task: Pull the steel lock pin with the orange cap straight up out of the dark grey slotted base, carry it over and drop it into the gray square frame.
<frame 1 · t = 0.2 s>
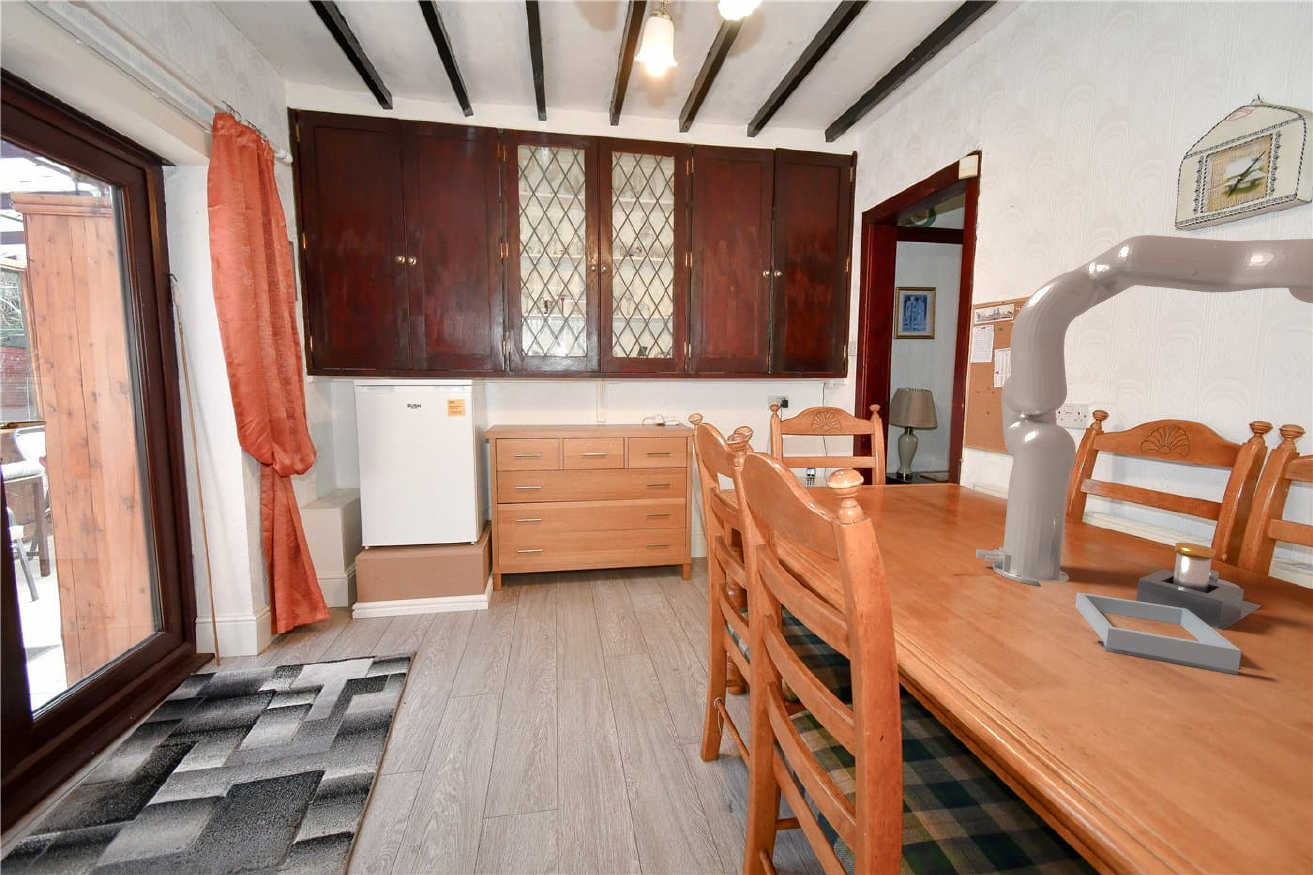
gray square frame: (1146, 639, 78), on the table
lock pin: (1186, 609, 86), point 1 cm above the table, touching dark grey slotted base
dark grey slotted base: (1186, 614, 86), on the table
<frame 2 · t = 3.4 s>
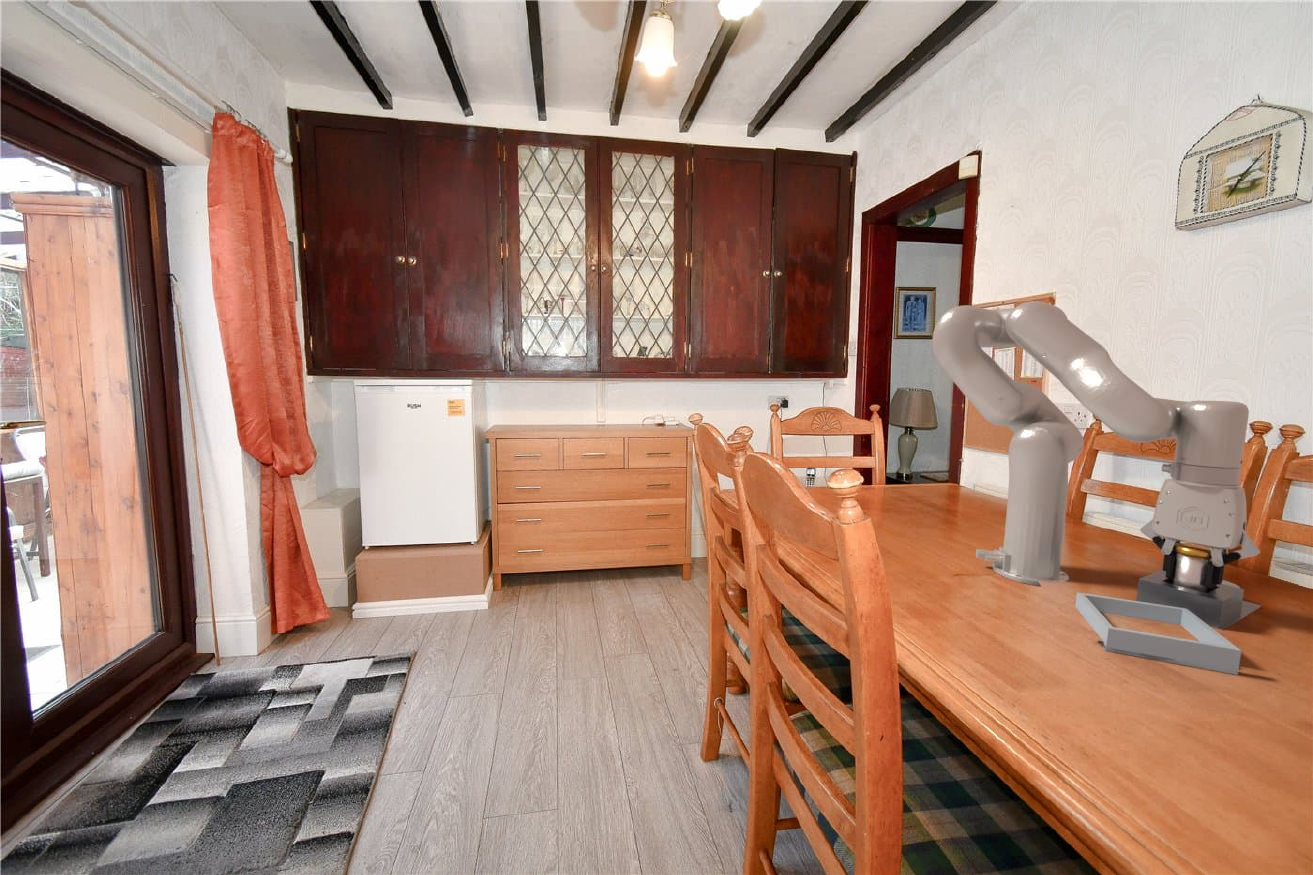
hand: (1190, 580, 85), 6 cm above the table, tool pointing down, fingers closed on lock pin, 4 cm apart
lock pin: (1186, 609, 86), point 1 cm above the table, touching gripper, dark grey slotted base
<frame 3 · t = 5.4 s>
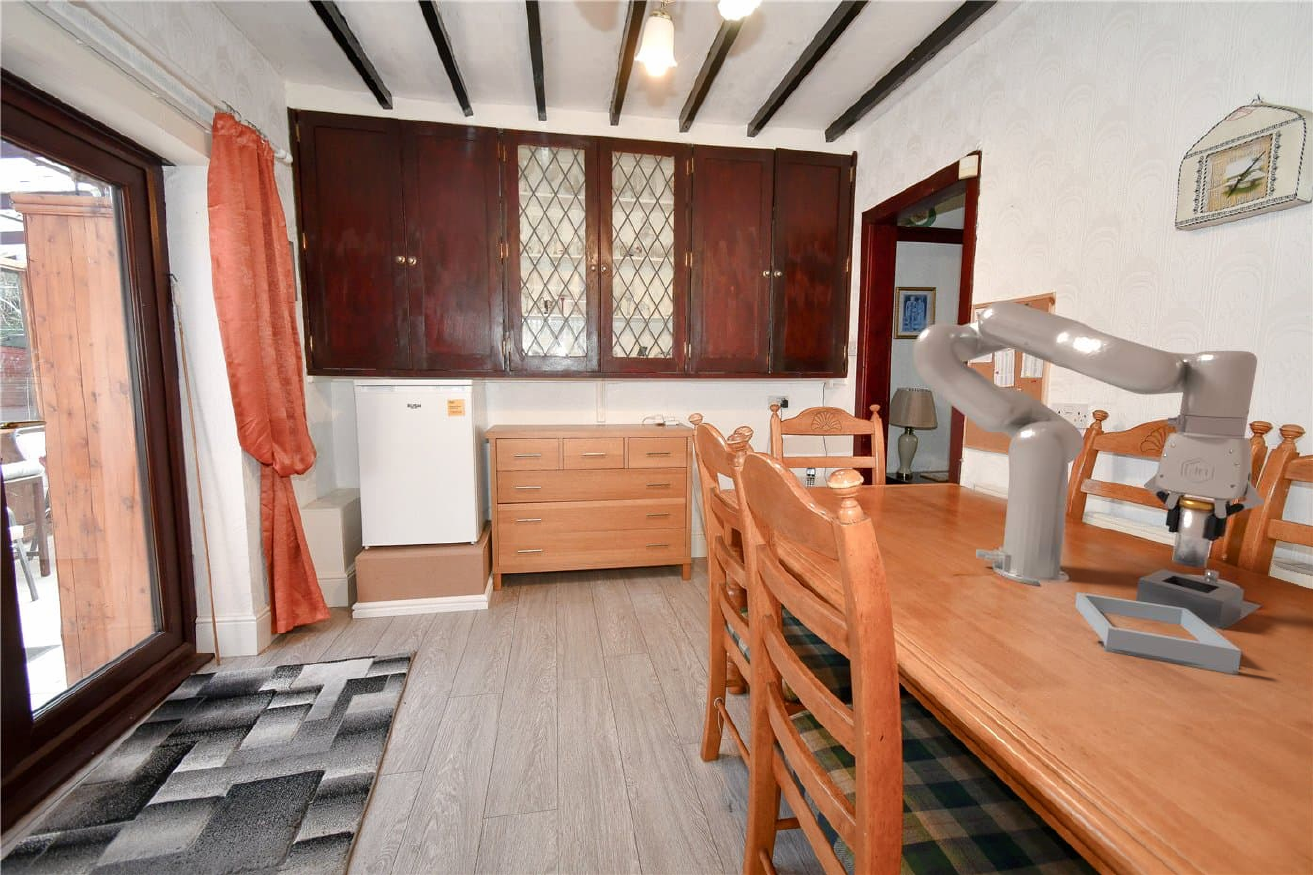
hand: (1193, 534, 85), 14 cm above the table, tool pointing down, fingers closed on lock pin, 4 cm apart
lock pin: (1188, 563, 85), point 9 cm above the table, touching gripper
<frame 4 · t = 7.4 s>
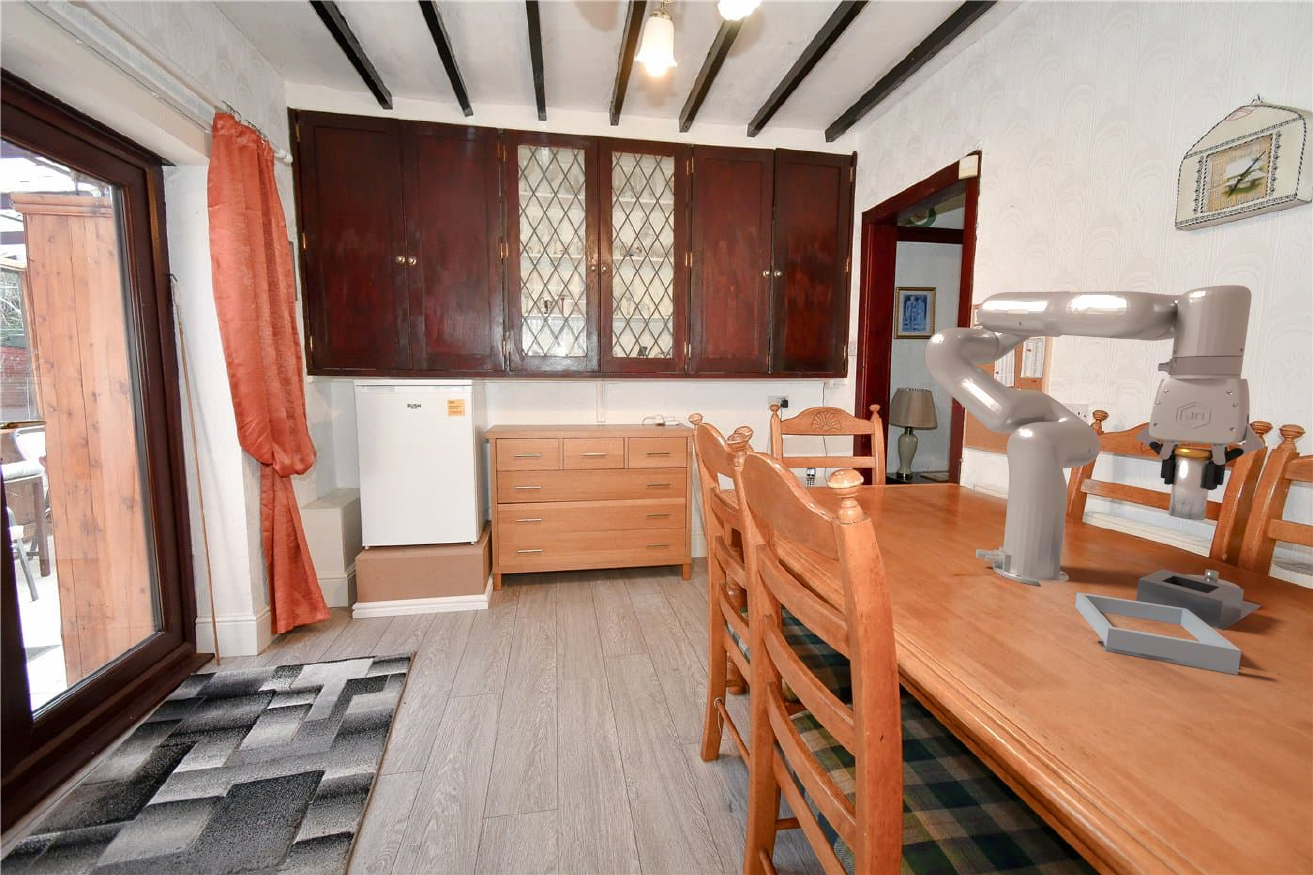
hand: (1190, 485, 80), 23 cm above the table, tool pointing down, fingers closed on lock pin, 4 cm apart
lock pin: (1186, 516, 80), point 18 cm above the table, touching gripper
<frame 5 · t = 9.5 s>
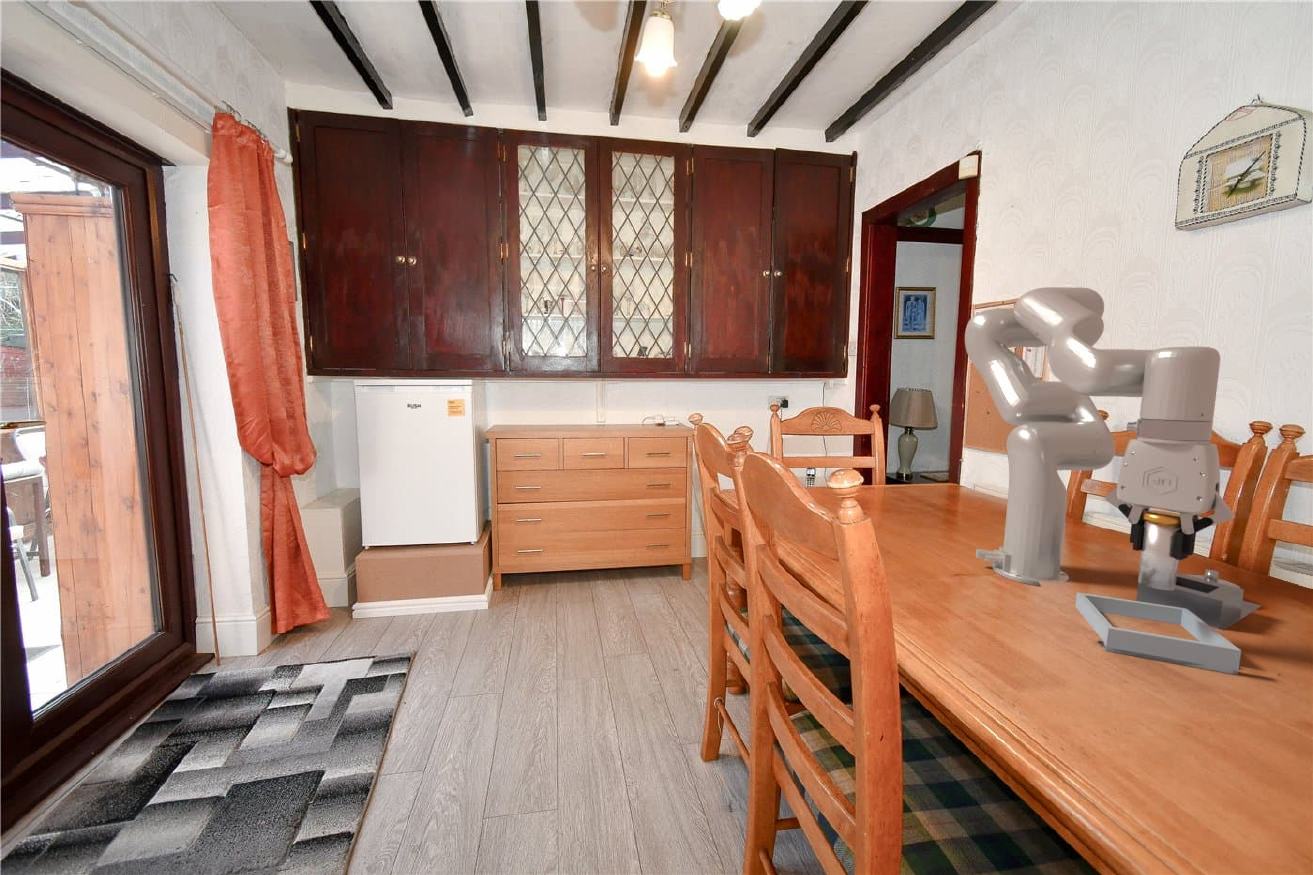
hand: (1159, 552, 76), 14 cm above the table, tool pointing down, fingers closed on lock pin, 4 cm apart
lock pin: (1156, 585, 76), point 9 cm above the table, touching gripper
when the fingers open (7 cm above the table, at t = 11.3 s): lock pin drops 2 cm, resting on gray square frame.
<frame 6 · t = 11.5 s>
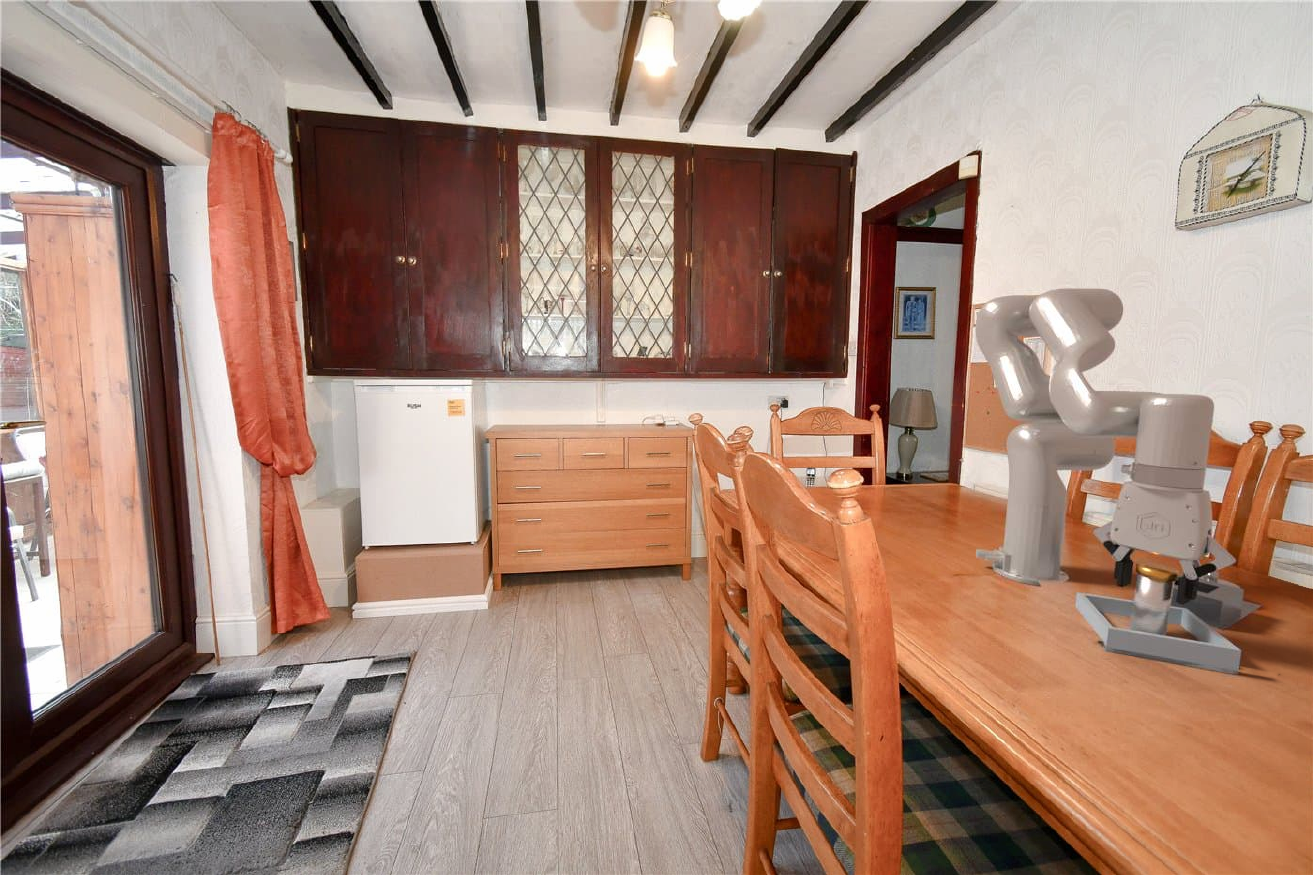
hand: (1152, 592, 77), 8 cm above the table, tool pointing down, fingers open, 6 cm apart
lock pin: (1146, 635, 78), point 1 cm above the table, touching gray square frame
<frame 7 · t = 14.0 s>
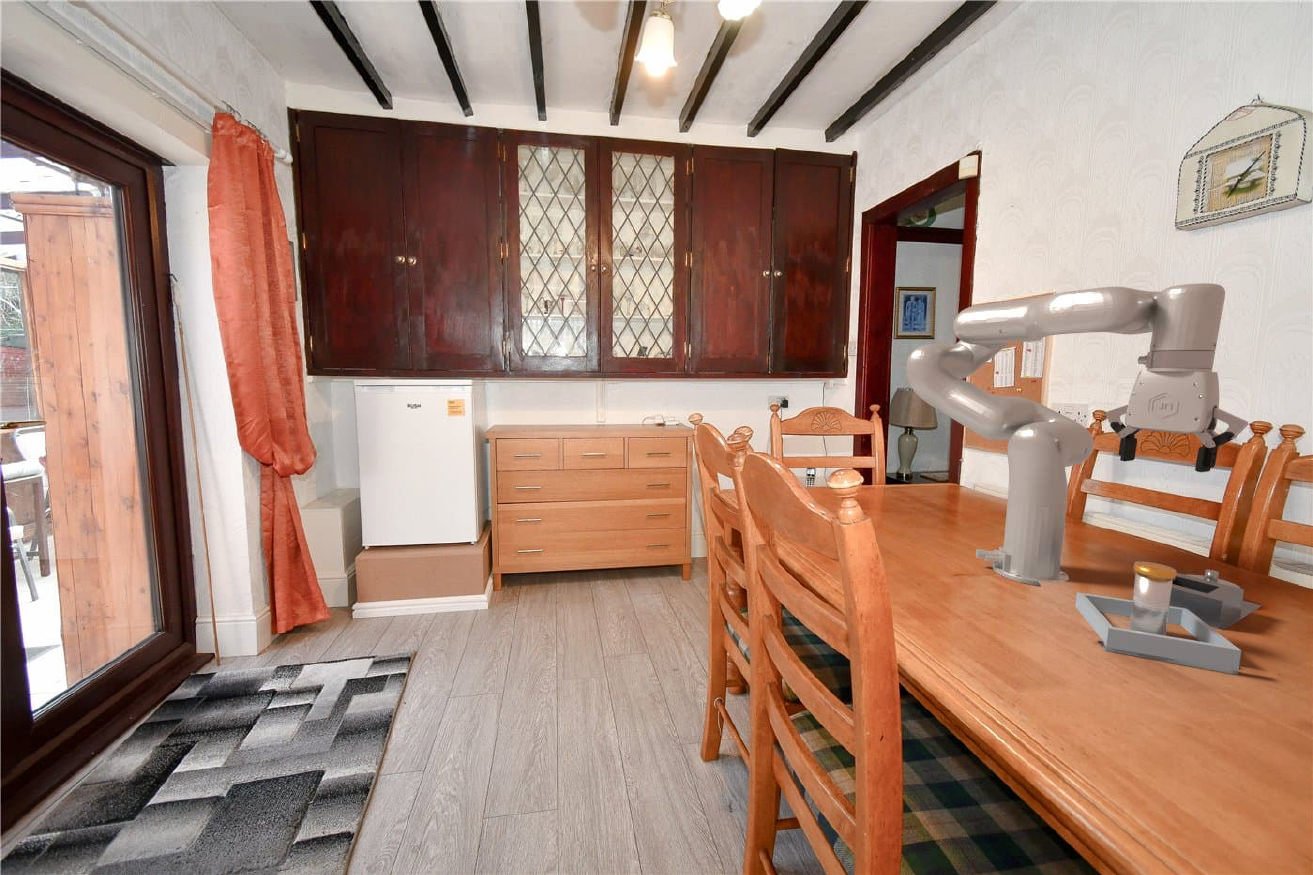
hand: (1162, 465, 85), 26 cm above the table, tool pointing down, fingers open, 9 cm apart
nothing on the table moved.
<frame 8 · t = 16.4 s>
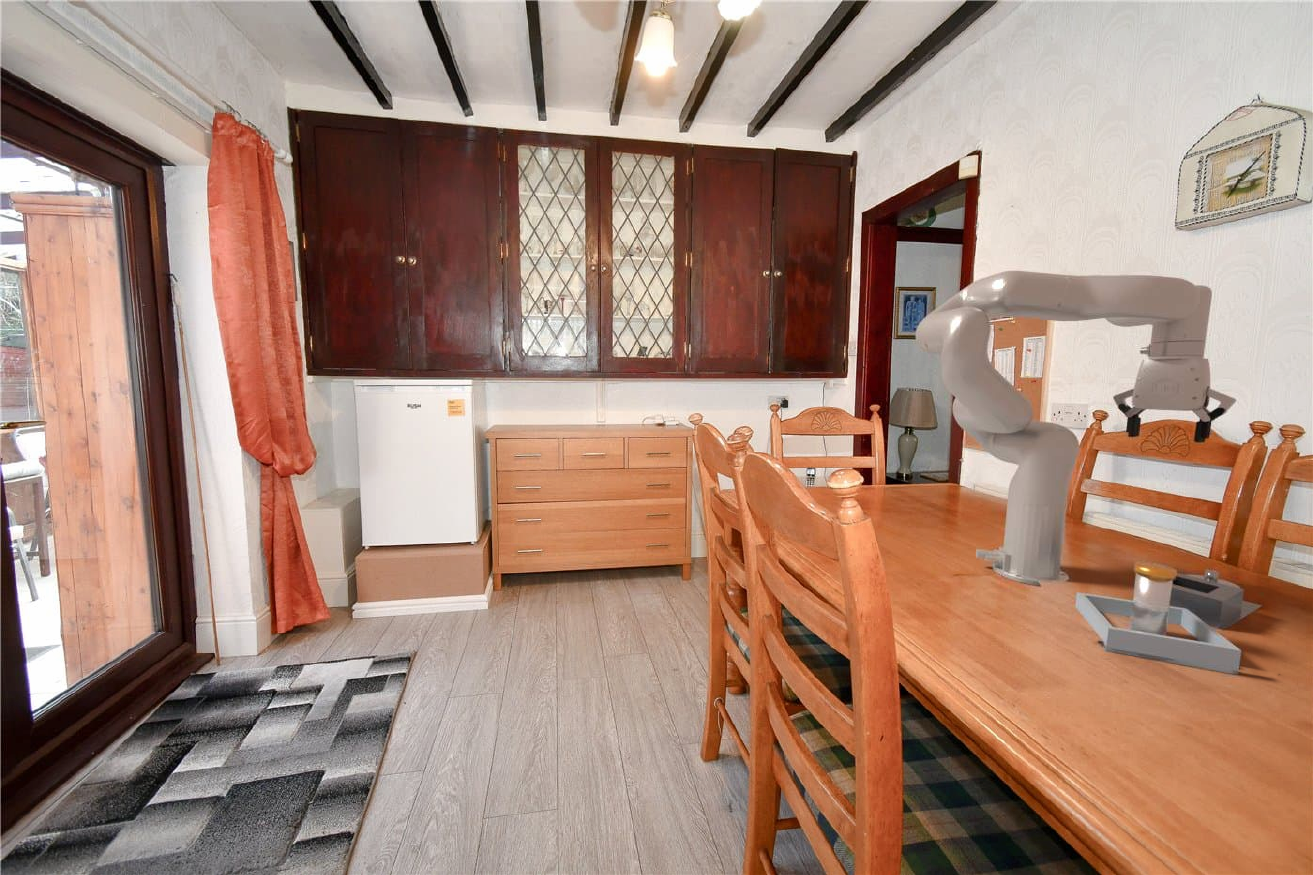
hand: (1165, 439, 100), 28 cm above the table, tool pointing down, fingers open, 9 cm apart
nothing on the table moved.
at the end: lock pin inside the target area on the gray square frame (0.1 cm from its centre), point 0.6 cm above the gray square frame's base; the gripper is holding nothing; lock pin moved 17.2 cm from its start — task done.
